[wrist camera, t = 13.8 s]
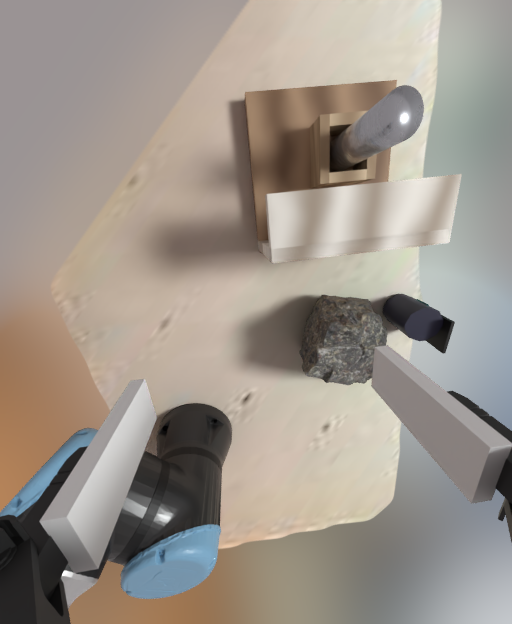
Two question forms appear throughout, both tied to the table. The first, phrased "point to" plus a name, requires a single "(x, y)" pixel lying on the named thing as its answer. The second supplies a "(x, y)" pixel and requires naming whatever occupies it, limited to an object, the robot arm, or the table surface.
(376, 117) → the peg
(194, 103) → the table surface
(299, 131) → the socket board
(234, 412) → the table surface
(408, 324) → the speaker
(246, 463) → the table surface
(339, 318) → the rock
